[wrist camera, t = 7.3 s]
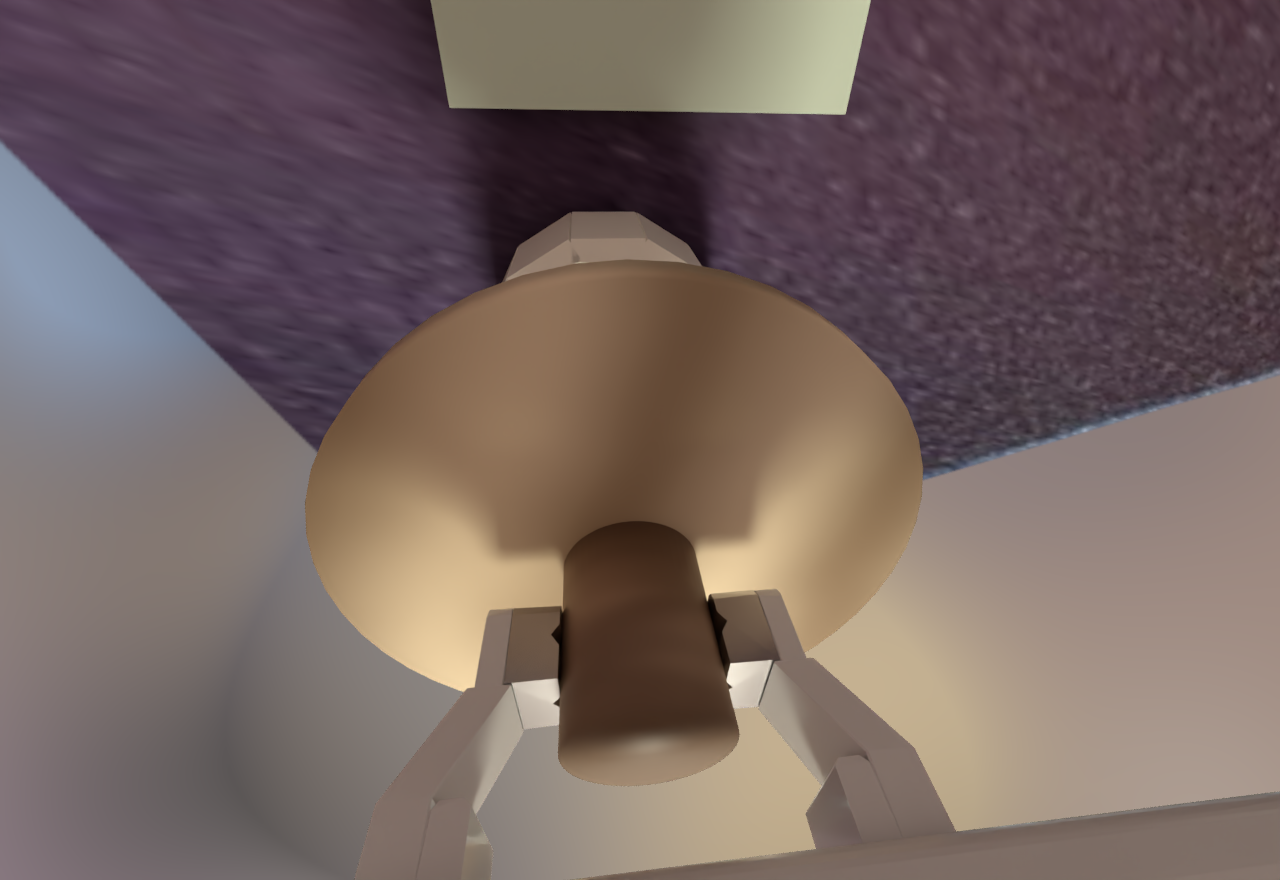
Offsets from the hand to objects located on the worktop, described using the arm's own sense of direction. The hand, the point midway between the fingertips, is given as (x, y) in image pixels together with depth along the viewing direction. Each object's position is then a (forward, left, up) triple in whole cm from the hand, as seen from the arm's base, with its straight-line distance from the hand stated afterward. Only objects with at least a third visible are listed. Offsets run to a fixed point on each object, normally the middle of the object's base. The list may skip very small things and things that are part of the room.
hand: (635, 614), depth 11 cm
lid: (0, 0, -2) cm, 2 cm away
